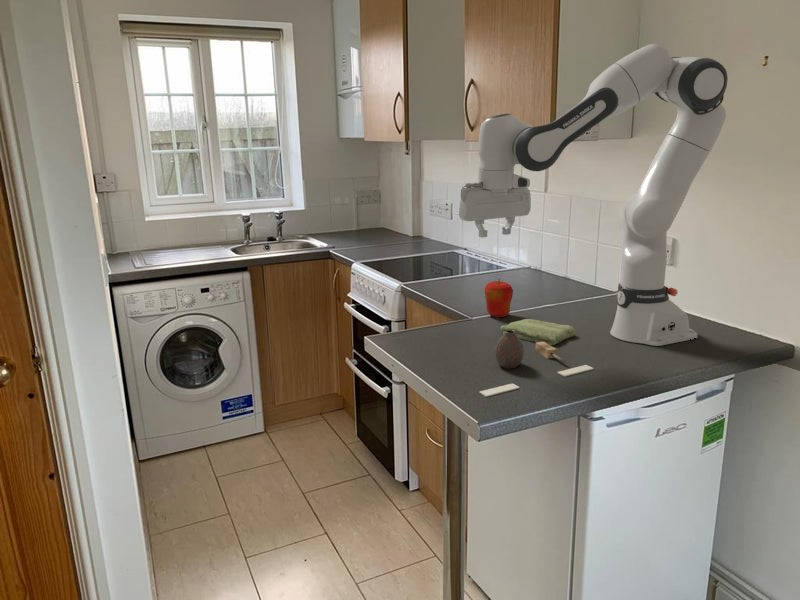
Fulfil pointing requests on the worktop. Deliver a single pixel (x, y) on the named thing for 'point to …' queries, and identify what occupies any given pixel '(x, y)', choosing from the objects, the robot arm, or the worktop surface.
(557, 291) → the worktop surface
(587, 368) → the beige flat strips
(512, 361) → the vase
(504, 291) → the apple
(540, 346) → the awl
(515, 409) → the worktop surface
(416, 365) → the worktop surface
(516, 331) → the washcloth
